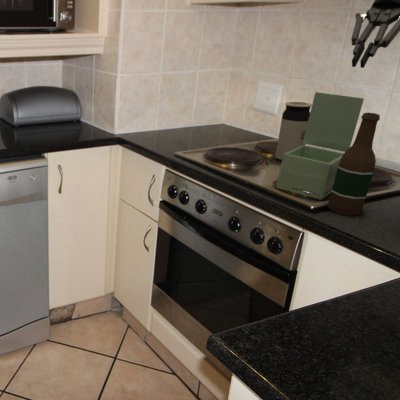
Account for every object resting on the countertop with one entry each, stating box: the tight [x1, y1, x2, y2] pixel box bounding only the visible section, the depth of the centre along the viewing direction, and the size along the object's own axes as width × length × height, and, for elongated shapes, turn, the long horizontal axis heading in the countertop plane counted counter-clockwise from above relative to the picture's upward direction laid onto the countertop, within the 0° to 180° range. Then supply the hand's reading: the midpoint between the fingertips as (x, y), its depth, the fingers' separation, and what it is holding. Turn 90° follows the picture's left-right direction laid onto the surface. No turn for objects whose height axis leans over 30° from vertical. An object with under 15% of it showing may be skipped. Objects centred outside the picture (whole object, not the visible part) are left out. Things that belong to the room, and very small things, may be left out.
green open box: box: [275, 144, 345, 201], centre depth 130 cm, size 14×12×10 cm
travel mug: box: [275, 101, 313, 161], centre depth 153 cm, size 8×8×18 cm
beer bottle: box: [327, 112, 381, 217], centre depth 114 cm, size 8×8×24 cm
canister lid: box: [303, 91, 365, 153], centre depth 130 cm, size 14×12×1 cm
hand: (357, 63), depth 131 cm, fingers closed
